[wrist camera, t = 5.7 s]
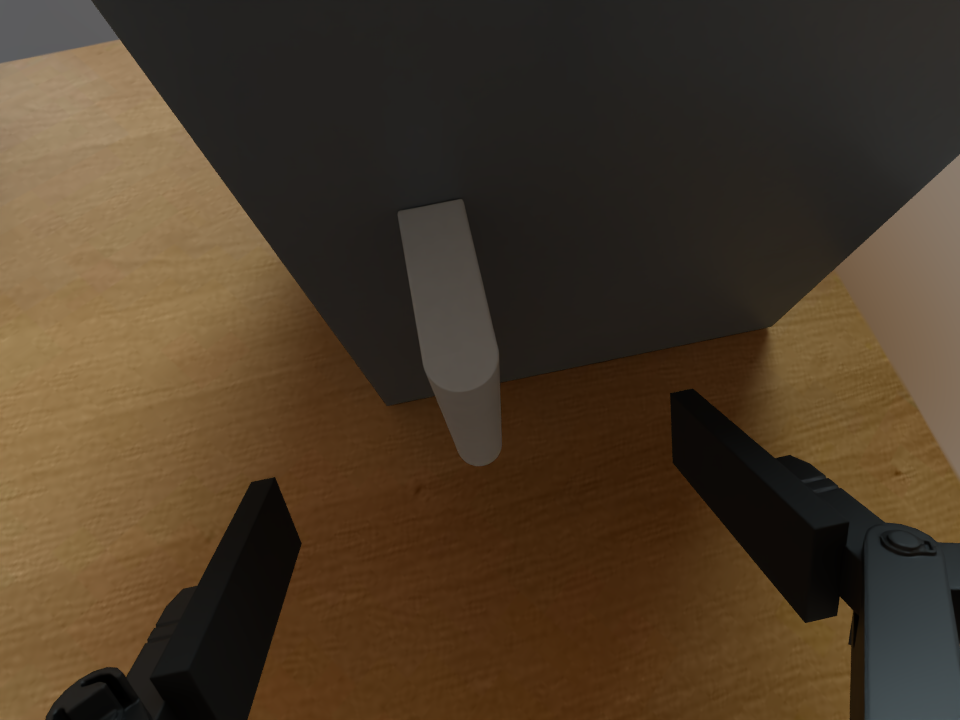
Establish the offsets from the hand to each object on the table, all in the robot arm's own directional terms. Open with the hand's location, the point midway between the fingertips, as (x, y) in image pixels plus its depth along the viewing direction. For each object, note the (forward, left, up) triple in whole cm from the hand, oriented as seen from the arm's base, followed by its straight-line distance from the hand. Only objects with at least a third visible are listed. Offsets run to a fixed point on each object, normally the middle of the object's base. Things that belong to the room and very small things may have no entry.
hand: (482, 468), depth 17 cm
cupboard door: (-7, -5, -12) cm, 15 cm away
